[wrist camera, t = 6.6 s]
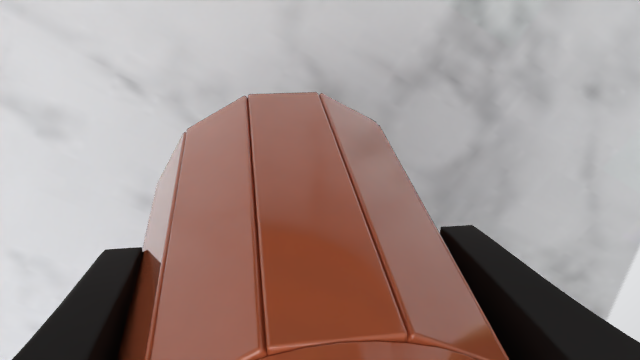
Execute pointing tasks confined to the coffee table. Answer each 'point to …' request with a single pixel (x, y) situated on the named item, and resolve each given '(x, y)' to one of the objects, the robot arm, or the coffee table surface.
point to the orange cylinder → (296, 247)
